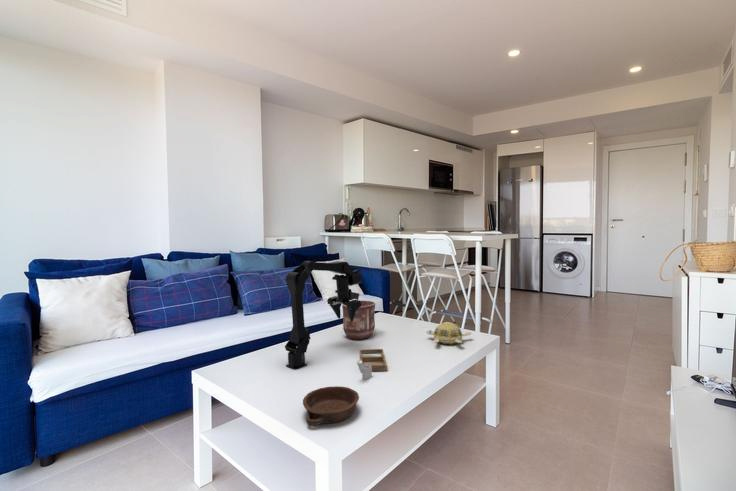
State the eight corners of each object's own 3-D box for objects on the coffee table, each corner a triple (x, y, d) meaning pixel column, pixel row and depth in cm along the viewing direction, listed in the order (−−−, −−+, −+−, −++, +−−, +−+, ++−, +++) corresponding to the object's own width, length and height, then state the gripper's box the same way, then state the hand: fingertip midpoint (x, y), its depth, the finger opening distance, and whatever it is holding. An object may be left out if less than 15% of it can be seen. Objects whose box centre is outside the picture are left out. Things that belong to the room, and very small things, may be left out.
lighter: (368, 375, 145) (368, 355, 144) (372, 376, 144) (371, 356, 143) (357, 381, 139) (356, 360, 139) (360, 382, 138) (360, 361, 138)
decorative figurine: (458, 353, 168) (458, 331, 167) (415, 346, 179) (415, 326, 178) (474, 337, 190) (474, 318, 190) (435, 332, 201) (435, 314, 201)
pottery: (375, 341, 188) (375, 306, 188) (341, 341, 189) (340, 306, 188) (375, 332, 206) (375, 300, 205) (344, 332, 206) (343, 300, 206)
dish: (286, 422, 111) (285, 406, 111) (330, 393, 130) (329, 379, 130) (333, 437, 102) (332, 420, 102) (373, 404, 121) (372, 389, 121)
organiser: (387, 371, 148) (387, 365, 148) (360, 372, 148) (360, 366, 148) (382, 354, 169) (382, 348, 169) (359, 355, 168) (359, 349, 168)
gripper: (368, 286, 173) (371, 318, 174) (343, 282, 186) (345, 312, 188) (351, 291, 165) (353, 325, 167) (325, 287, 179) (328, 318, 180)
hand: (345, 319), depth 175 cm, fingers open, 9 cm apart
